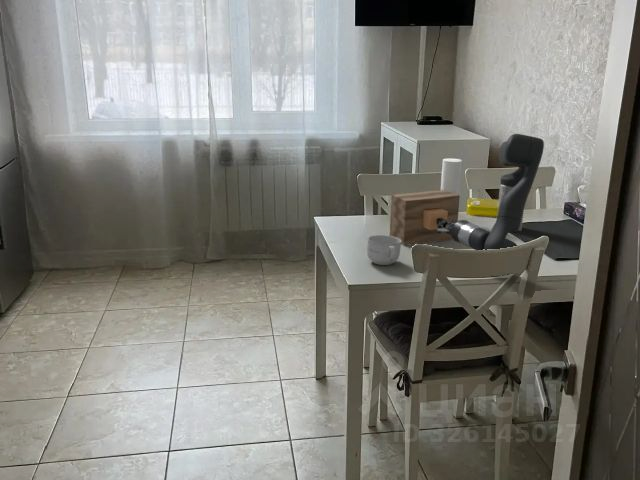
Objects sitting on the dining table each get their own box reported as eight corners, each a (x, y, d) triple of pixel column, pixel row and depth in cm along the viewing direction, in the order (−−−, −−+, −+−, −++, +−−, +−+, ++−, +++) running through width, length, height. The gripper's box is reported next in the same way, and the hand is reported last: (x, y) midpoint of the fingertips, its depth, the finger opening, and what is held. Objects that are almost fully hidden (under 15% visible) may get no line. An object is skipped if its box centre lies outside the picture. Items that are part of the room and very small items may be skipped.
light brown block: (446, 228, 218) (447, 211, 217) (429, 230, 216) (430, 213, 214) (433, 222, 225) (435, 206, 224) (417, 224, 223) (418, 207, 221)
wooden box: (456, 238, 227) (459, 195, 222) (403, 245, 218) (405, 201, 214) (440, 231, 235) (443, 189, 231) (389, 237, 227) (391, 194, 222)
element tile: (503, 218, 255) (504, 207, 254) (465, 215, 259) (466, 204, 257) (502, 209, 269) (503, 198, 267) (467, 207, 272) (468, 196, 271)
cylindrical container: (443, 219, 251) (447, 157, 244) (459, 222, 247) (464, 159, 240) (435, 223, 246) (439, 160, 238) (452, 226, 242) (457, 162, 234)
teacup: (364, 257, 206) (365, 233, 204) (396, 256, 207) (397, 233, 205) (371, 271, 193) (372, 247, 191) (405, 271, 194) (407, 246, 192)
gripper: (486, 221, 202) (455, 208, 217) (452, 225, 197) (422, 212, 213) (484, 243, 205) (453, 229, 220) (450, 247, 200) (421, 233, 215)
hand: (438, 220), depth 216 cm, fingers closed
